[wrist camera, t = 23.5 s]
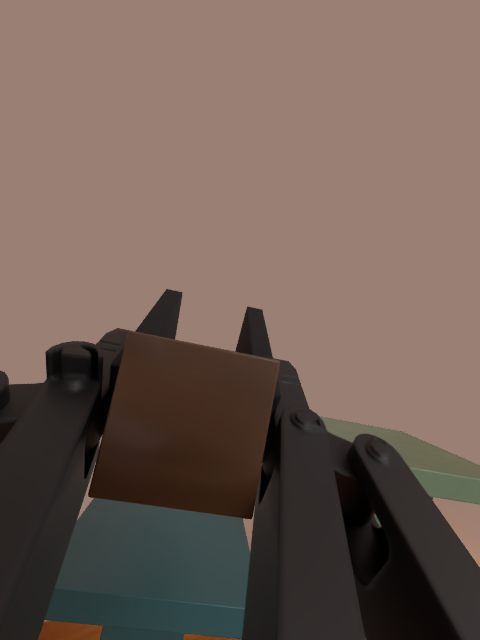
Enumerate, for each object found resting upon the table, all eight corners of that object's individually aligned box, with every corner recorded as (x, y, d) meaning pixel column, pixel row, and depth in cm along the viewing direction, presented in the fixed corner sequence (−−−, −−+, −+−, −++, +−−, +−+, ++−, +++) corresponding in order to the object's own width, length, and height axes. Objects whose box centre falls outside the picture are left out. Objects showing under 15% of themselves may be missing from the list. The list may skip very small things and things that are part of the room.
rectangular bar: (252, 520, 6) (281, 360, 6) (86, 498, 5) (127, 330, 6) (212, 377, 32) (218, 349, 33) (184, 372, 32) (190, 344, 32)
